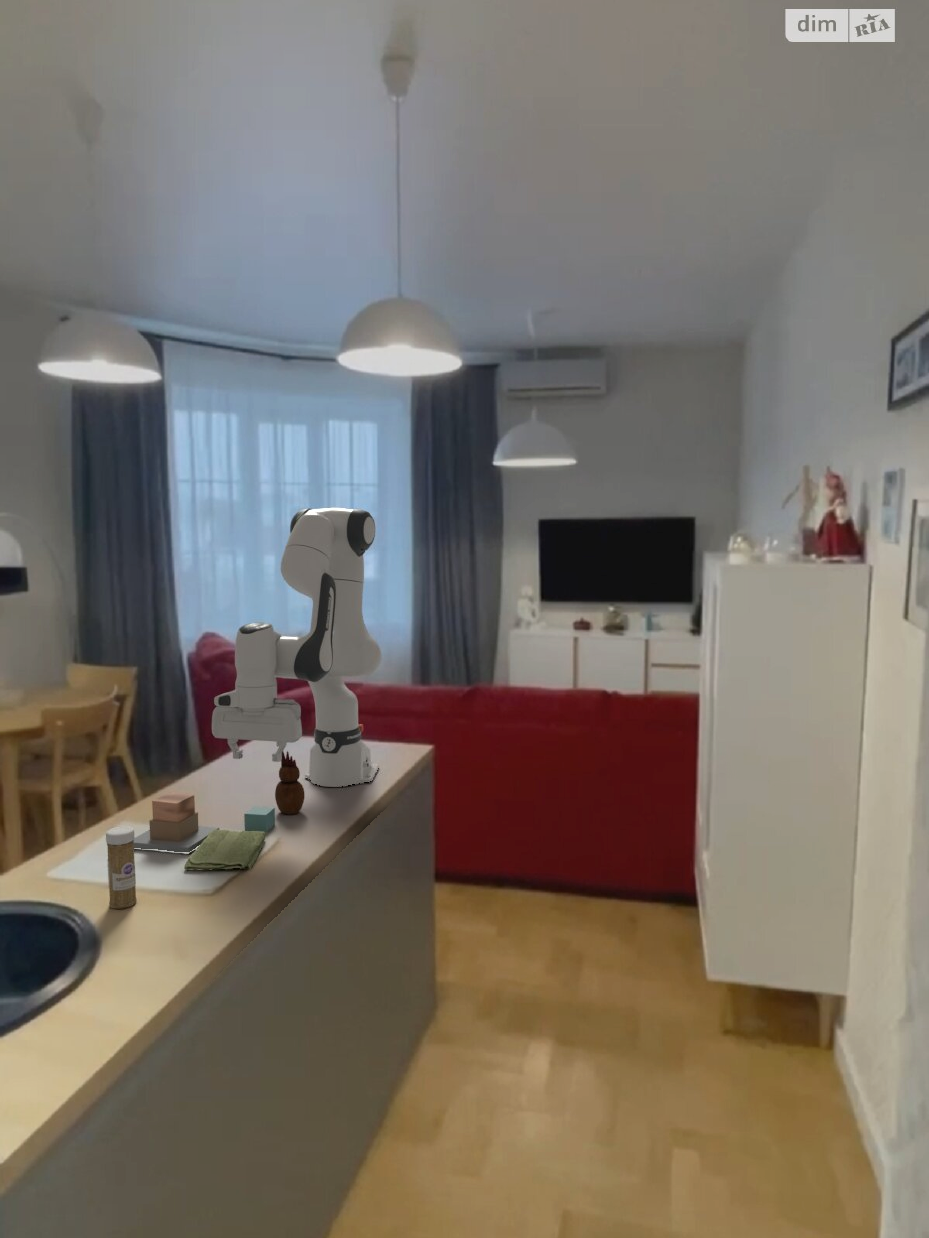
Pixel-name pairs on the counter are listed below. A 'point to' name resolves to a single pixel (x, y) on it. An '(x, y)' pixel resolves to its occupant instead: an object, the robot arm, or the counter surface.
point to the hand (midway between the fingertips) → (257, 759)
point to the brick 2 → (259, 819)
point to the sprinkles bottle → (121, 867)
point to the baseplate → (173, 845)
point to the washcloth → (227, 850)
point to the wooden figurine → (289, 787)
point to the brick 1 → (173, 807)
